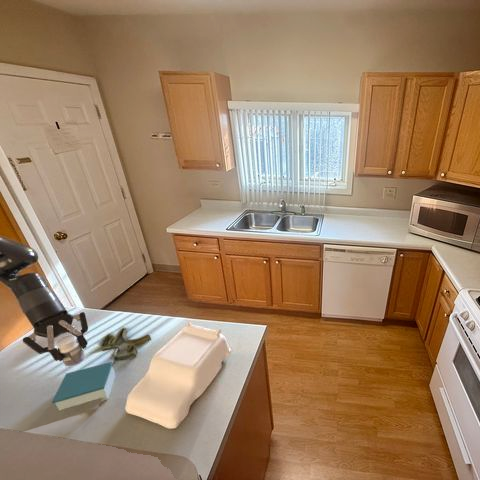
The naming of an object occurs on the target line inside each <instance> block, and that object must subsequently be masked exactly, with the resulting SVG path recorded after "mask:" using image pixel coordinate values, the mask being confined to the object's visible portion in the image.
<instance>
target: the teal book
mask: <svg viewBox="0 0 480 480" xmlns="http://www.w3.org/2000/svg"><path fill="white" fill-rule="evenodd" d="M113 364H114V362H113V361H110V362H109V361H108V362H106V363H102V364H98V365H94V366H90V367H86V368H81V369H78V370H75V371H71V372H70V371H69V372H66V373H65V375H64V377H63V379H62V381H61V383H60V385H59V387H58V389H57V390H56V393H55V394H54V396H53V399H52V400H51V403H52V404H55V406H56V407H57V409H58V410H59V411H62V410H65V409H68V408H72V407H75V406H79V405H82V404H85V403H89V402H91V401H95V400H99V403H101V402H104V401H107V400H109V397H110V396H111V391H112V389H113V386H114V383H115V379H116V377H117V374H116V372H115V369H114V367H113Z"/></svg>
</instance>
